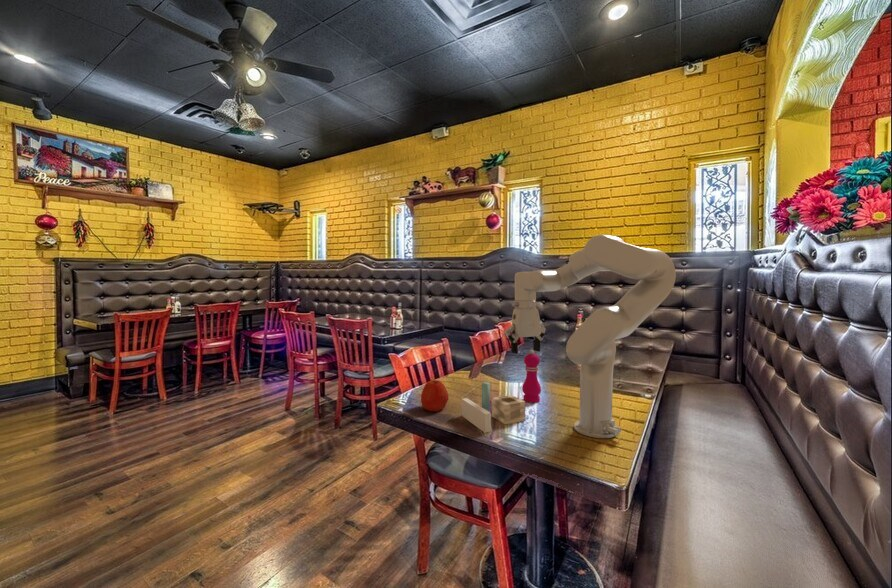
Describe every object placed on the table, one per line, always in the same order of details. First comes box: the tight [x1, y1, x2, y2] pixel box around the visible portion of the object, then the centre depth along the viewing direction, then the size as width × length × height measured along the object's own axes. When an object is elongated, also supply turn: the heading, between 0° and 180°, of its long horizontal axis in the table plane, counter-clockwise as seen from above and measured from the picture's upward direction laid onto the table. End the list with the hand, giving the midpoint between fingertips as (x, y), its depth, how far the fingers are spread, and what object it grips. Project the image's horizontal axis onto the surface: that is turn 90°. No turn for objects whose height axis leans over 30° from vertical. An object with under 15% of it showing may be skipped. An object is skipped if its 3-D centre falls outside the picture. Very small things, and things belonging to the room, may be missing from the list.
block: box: [491, 394, 526, 425], centre depth 127 cm, size 8×8×6 cm
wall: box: [461, 397, 492, 434], centre depth 123 cm, size 16×2×6 cm, turn 25°
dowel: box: [481, 381, 491, 412], centre depth 135 cm, size 3×3×10 cm
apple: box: [420, 379, 449, 412], centre depth 137 cm, size 10×10×10 cm
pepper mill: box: [521, 349, 542, 404], centre depth 146 cm, size 7×7×20 cm
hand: (525, 352), depth 137 cm, fingers open, 9 cm apart
